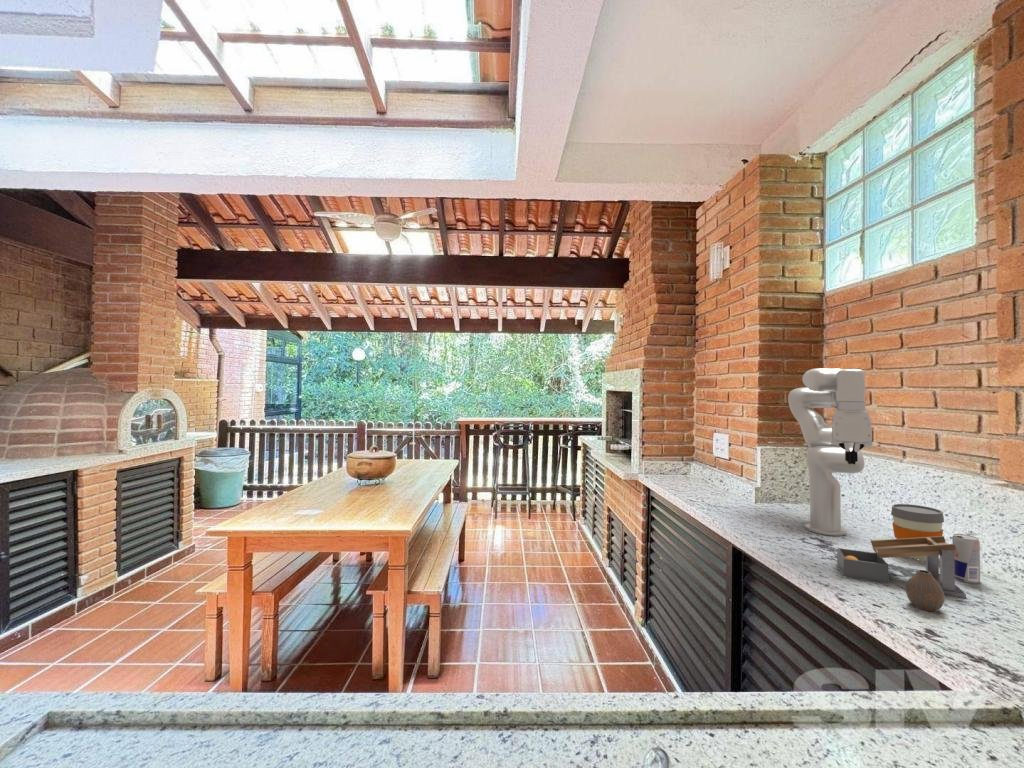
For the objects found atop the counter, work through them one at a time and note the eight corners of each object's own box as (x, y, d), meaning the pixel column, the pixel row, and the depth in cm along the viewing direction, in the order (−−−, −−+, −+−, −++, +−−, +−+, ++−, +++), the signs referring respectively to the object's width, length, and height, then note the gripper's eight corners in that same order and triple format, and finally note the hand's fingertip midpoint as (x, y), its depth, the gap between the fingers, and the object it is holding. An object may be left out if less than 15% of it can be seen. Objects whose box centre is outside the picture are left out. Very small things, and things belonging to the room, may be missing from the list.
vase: (925, 600, 113) (924, 565, 113) (952, 614, 106) (952, 577, 106) (898, 601, 112) (898, 566, 113) (924, 615, 106) (924, 577, 106)
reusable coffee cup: (926, 565, 135) (925, 515, 135) (881, 551, 147) (881, 505, 147) (955, 561, 138) (954, 512, 138) (909, 547, 150) (908, 502, 151)
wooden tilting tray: (867, 542, 137) (864, 533, 138) (936, 538, 130) (933, 528, 130) (880, 559, 124) (877, 549, 124) (958, 555, 117) (955, 544, 117)
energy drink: (951, 574, 129) (951, 532, 129) (978, 579, 125) (977, 536, 125) (954, 580, 124) (953, 537, 125) (981, 585, 121) (981, 541, 121)
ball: (857, 569, 131) (840, 565, 133) (859, 555, 131) (842, 552, 133) (860, 574, 128) (843, 570, 130) (862, 560, 128) (845, 556, 129)
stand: (916, 573, 129) (915, 535, 129) (944, 577, 126) (943, 538, 126) (934, 593, 117) (934, 551, 117) (965, 598, 114) (965, 554, 114)
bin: (837, 564, 136) (837, 547, 136) (878, 570, 131) (878, 553, 131) (843, 576, 127) (843, 558, 127) (888, 583, 123) (888, 565, 123)
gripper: (824, 407, 145) (825, 463, 145) (883, 408, 139) (883, 467, 138) (821, 406, 152) (821, 460, 152) (876, 407, 145) (877, 463, 145)
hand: (851, 463), depth 145 cm, fingers closed
